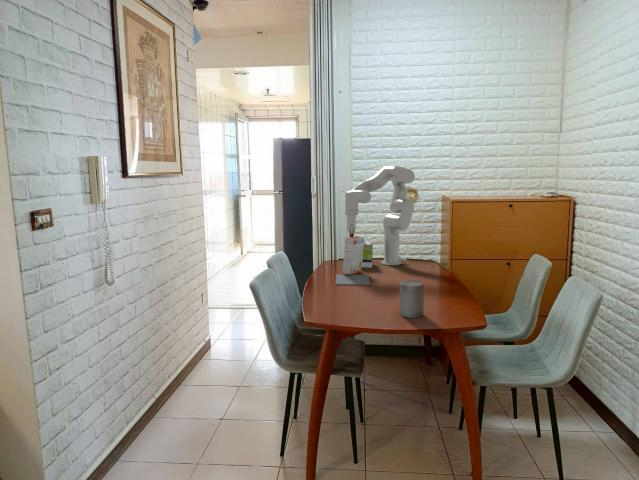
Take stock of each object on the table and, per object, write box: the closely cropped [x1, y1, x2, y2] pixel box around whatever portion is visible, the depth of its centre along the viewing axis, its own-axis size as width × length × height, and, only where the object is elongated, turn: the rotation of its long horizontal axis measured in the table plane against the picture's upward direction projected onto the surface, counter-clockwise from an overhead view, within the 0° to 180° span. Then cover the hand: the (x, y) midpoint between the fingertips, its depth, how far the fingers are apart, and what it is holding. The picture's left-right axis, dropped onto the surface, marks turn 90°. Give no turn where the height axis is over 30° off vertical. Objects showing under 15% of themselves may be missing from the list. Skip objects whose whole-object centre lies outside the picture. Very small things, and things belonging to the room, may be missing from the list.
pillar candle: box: [399, 279, 425, 319], centre depth 193 cm, size 10×10×15 cm
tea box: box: [362, 240, 374, 269], centre depth 294 cm, size 15×10×15 cm
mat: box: [335, 273, 371, 286], centre depth 256 cm, size 18×23×1 cm
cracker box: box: [342, 235, 365, 275], centre depth 269 cm, size 14×6×21 cm, turn 149°
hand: (351, 243), depth 276 cm, fingers closed
